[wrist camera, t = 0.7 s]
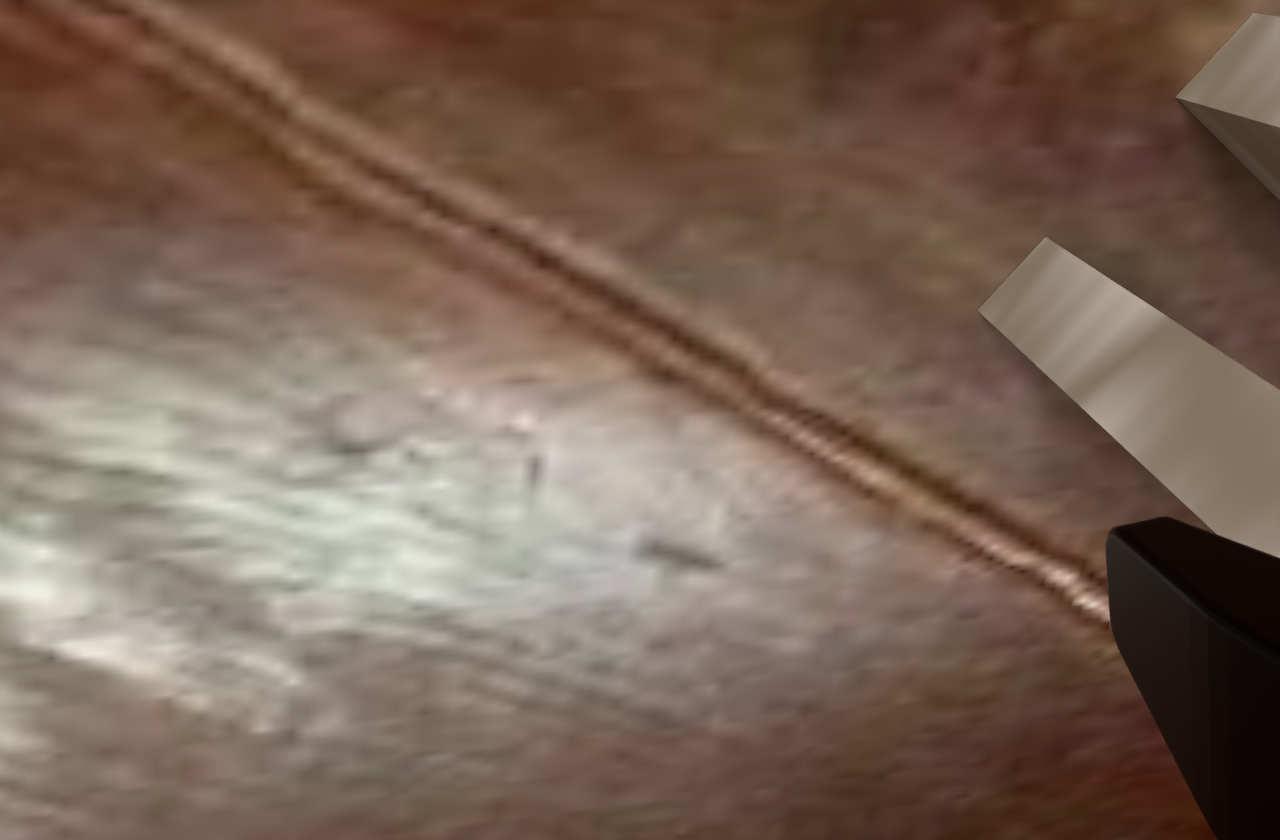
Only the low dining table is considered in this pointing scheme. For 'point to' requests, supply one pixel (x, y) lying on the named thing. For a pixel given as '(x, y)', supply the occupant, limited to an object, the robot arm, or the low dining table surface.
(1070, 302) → the ivory domino
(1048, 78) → the low dining table surface
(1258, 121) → the ivory domino
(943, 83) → the low dining table surface
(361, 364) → the low dining table surface
